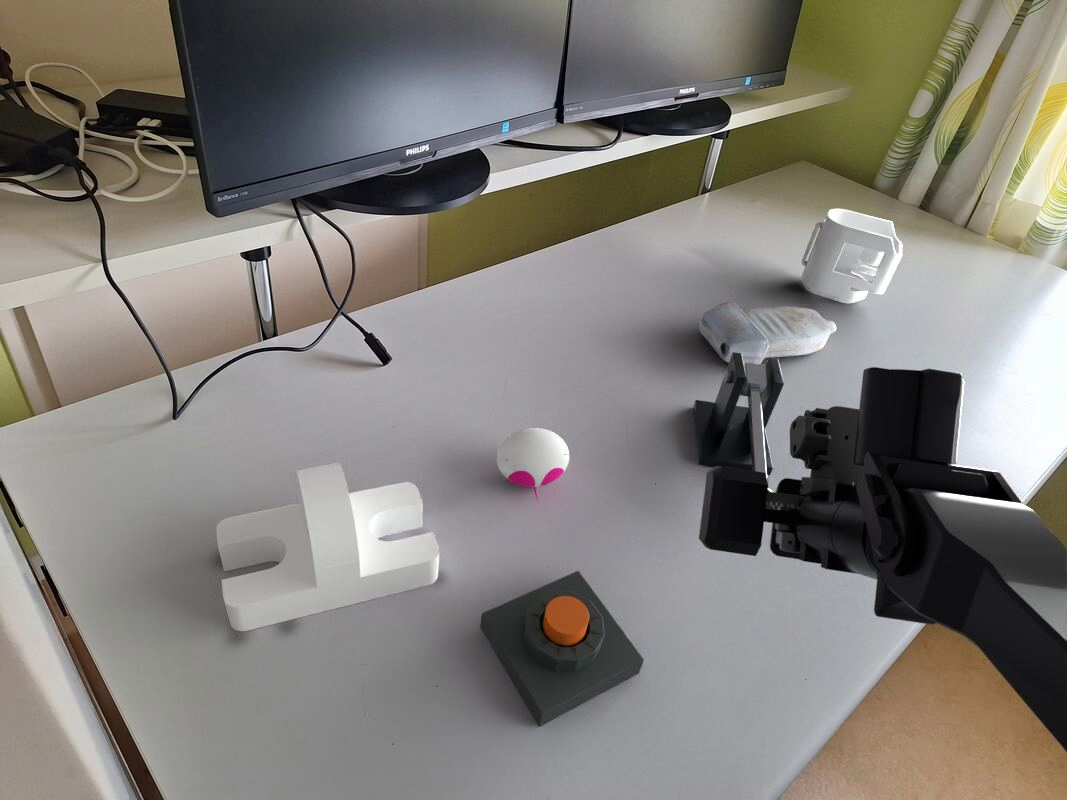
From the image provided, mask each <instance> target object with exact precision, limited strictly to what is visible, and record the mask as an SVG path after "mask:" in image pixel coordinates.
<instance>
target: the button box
mask: <svg viewBox="0 0 1067 800" xmlns="http://www.w3.org/2000/svg"><path fill="white" fill-rule="evenodd" d="M560 596H570V597H573V598H576V599H578V600H579V601H581V602H582V603H583V604H584V605H585V607H586V608H587V610H588V613H589V622H588V625H587V629H586V632H585V635H584V637H583V639H582V640H581V641H580V642H578V643H577V644H574V645H571V646H562V645H558V644H556V643H554V642H552V641H551V640H550V639H549V638H548V637H547V636H546V634H545V632H544V629H543V620H544V615H545V610H546V607H547V605H548V604H549V602H550V601H552V600H553V599H555V598H557V597H560ZM479 628H480V630H481V632H482V634H483V635H484V637H485V638H486V640H487V642H488V643H489V646H490V647H491V648H492V651H493V652H494V653H495V656H496V657H497V659H498V660H499V662H500V664H501V666H502V668H504V671H505V673H506V674H507V675H508V677H509V679H510V680H511V682H512V684H513V685H514V687H515V689H516V691H517V693H518V694H519V696H520V697H521V699H522V700H523V702H524V705H525V706H526V708H527V709H528V711H529V712H530V714H531V716H532V717H533V719H534V721H535V722H536V724H537V726H538V727H542V726H543V725H546V724H547V723H550V722H551V721H553V720H555V719H557V718H559V717H560V716H562V715H564V714H566V713H567V712H570V711H572V710H574V709H575V708H577V707H579V706H581V705H582V704H585V703H586V702H588V701H590V700H592V699H593V698H596V697H597V696H599V695H601V694H603V693H605V692H607V691H609V690H611V689H612V688H614V687H616V686H618V685H619V684H621V683H623V682H625V681H627V680H629V679H631V678H632V677H634V676H636V675H638V674H639V673H640V671H641V669H642V666H643V663H644V661H645V658H644V657H643V656H642V654H641V653H640V652H639V650H638V649H637V648H636V646H635V645H634V643H632V641H631V640H630V638H629V637H628V635H627V634H626V633H625V631H624V630H623V629H622V627H621V626H620V625H619V623H618V622H617V621H616V619H615V618H614V616H613V615H612V614H611V612H610V611H609V610H608V608H607V607H606V606H605V605H604V603H603V602H602V601H601V599H600V597H599V596H598V595H597V594H596V592H595V591H594V590H593V588H592V587H591V586H590V584H589V583H588V581H587V580H586V579H585V577H584V576H583V575H582V573H581V572H580V570H576V571H574V572H572V573H570V574H567V575H565V576H563V577H561V578H558V579H556V580H554V581H552V582H549V583H547V584H545V585H543V586H540V587H538V588H535V589H533V590H531V591H529V592H527V593H525V594H523V595H520V596H518V597H515V598H512V599H511V600H509V601H506V602H504V603H502V604H499V605H498V606H495V607H493V608H491V609H488V610H487V611H484V612H482V613H481V618H480V625H479Z"/></svg>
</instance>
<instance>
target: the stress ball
mask: <svg viewBox="0 0 1067 800" xmlns="http://www.w3.org/2000/svg"><path fill="white" fill-rule="evenodd" d="M569 462H570V451H569V447H568V445H567V444H566V442H565V440H564V439H563V437H561V436H559V434H557V433H556V432H553V430H550V429H546V428H542V427H528V428H527V427H525V428H522V429H520V430H516V431H514V432H512V433H511V434H509V435H508V436H506V438H504V439H503V440H502V442H501V443H500V445H499V446H498V449H497V452H496V465H497V467H498V470H499V472H500V474H501V475H502V476H503V477H504V478H505V479H507V480H508V481H509V482H511V483H513V484H515V485H518V486H520V487H526V488H533V491H534V495H535V498H536V499H537V500H536V501H537V503H538V505H539V504H540V503H539V498H538V492H537V488H539V487H542V486H546V485H549V484H551V483H553V482H555V481H556V480H558V479H559V478H560V477H561V476H562V475H563V474H564V473H565V471H567V468H568V466H569Z"/></svg>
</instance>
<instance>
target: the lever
mask: <svg viewBox="0 0 1067 800" xmlns="http://www.w3.org/2000/svg"><path fill="white" fill-rule="evenodd" d="M744 368H745V374H746V381H745V383H744V386H743V388H742V391H741V394H740V396H742V397H747V407H748V408H749V424H750V440H751V455H752V471H757V472H764V473H766V460H765V447H764V434H763V421H762V408H761V396H762V394H763V392H764V390H765V388H766V387H767V376H766V364H753V363H747V362H746V363H745V365H744ZM766 476H767V477H768V475H767V473H766ZM768 491H769V492H775V491H774V490H773V489H772V488H770V487H768ZM766 508H769V509H774V506H772V505H771V502H770V504H769V505H766Z"/></svg>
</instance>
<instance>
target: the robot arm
mask: <svg viewBox="0 0 1067 800" xmlns="http://www.w3.org/2000/svg"><path fill="white" fill-rule="evenodd" d="M964 387H965V379H964V378H963V375H962V373H960V372H954V371H949V370H948V371H947V370H942V369H936V368H935V369H934V368H926V369H922V370H919V369H918V370H917V369H898V368H897V369H894V368H891V369H890V368H884V367H877V366H872V367H867V368H864V369H863V371H862V381H861V390H860V399H859V406H858V407H859V408H854V407H848V406H841V405H834V406H831V407H830V408H821V407H820V408H819V407H816V408H815V409H814V410H813V409H812V410H811V409H806V410H805V411H804V413H803V415H798V416H796V417H795V418H794V419H793V420H792V421H791V424H790V427H789V454H790V456H791V458H792V459H796V460H801V461H802V462H803V464H804V469H806V470H810V475H809V476H801V479H796V478H789V477H785V478H783V479H781V480H780V481H779V483H778V485H777V487H776V490H775V491H774V492H769V491H768V488H769V481H768V475H767V476H766V473H764V472H757V471H750V470H744V469H737V468H730V467H723V466H715V467H711V469H710V470H708V471H707V472H706V476H705V477H706V478H705V486H704V494H703V500H702V501H703V503H702V508H701V509H702V511H701V519H700V525H699V534H698V540H699V541H700V542H701V544H702V545H703V546H704V547H705V548H706V549H708V550H711V551H718V552H725V553H731V554H739V555H746V556H750V557H751V556H752V557H757V555H758V553H759V551H760V549H761V547H762V542H763V534H764V524H765V523H769V524H771V531H770V532H771V533H770V541H769V549H770V551H771V553H772V554H773V555H775V556H776V557H781V558H787V559H794V560H799V561H802V562H806V563H812V564H819V565H820V568H821V569H825V570H828V571H837V572H842V573H849V574H850V573H851V574H856V575H861V576H864V577H866V578H870V579H873V580H876V588H875V595H874V596H875V597H874V606H873V613H874V615H875V616H876V617H878V618H884V619H890V620H898V621H903V622H911V623H917V624H923V625H924V624H925V625H931V626H934V625H936V624H938V625H940V626H942V627H944V628H945V629H948V630H950V631H952V632H955V633H956V634H958V635H960V636H963V637H965V638H966V639H967V640H968V641H969V642H971V643H972V644H973V645H974V646H975V647H977V648H978V649H979V650H980V651H981V652H982V654H983V655H984V656H985V657H986V658H987V660H988V661H989V662H990V663H991V664H992V666H993V667H994V668H995V669H996V670H997V672H998V673H999V675H1001V676H1002V678H1003V679H1004V680H1005V682H1007V684H1008V685H1009V687H1011V689H1012V690H1014V692H1015V693H1016V694H1017V696H1018V697H1019V698H1020V699H1021V701H1022V702H1024V704H1025V705H1026V706H1027V707H1028V709H1029V710H1030V711H1031V712H1032V714H1033V715H1034V716H1035V717H1036V718H1037V719H1038V721H1039V722H1040V723H1041V725H1042V726H1044V727H1045V729H1046V730H1047V731H1048V732H1049V734H1050V735H1051V736H1052V738H1053V739H1054V740H1055V742H1057V744H1059V745H1060V747H1061V748H1062V749H1063V750H1064V752H1065V753H1066V754H1067V547H1066V546H1065V544H1064V543H1063V542H1062V541H1061V540H1060V539H1059V538H1058V536H1056V534H1055V533H1054V532H1053V531H1052V530H1051V529H1050V528H1049V527H1048V525H1047V524H1046V523H1045V522H1044V521H1043V519H1042V518H1041V517H1040V516H1039V515H1038V514H1037V513H1036V511H1034V510H1033V509H1032V508H1031V507H1029V506H1027V505H1024V504H1023V502H1022V500H1021V499H1020V498H1019V496H1018V495H1017V494H1016V492H1015V491H1014V490H1013V488H1012V487H1011V486H1010V485H1009V483H1008V482H1007V480H1006V479H1005V478H1004V476H1003V475H1002V474H1001V472H1000V471H998V470H991V469H985V468H978V467H971V466H962V465H957V461H958V449H959V441H960V440H959V439H960V428H961V419H962V408H963V397H964ZM770 502H771V505H772V506H774V509H769V508H766V505H769V504H770Z"/></svg>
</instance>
